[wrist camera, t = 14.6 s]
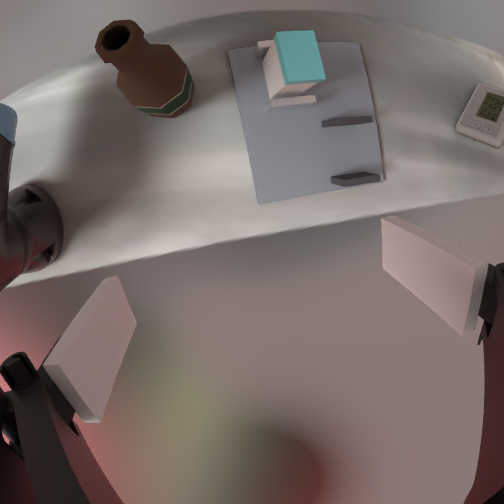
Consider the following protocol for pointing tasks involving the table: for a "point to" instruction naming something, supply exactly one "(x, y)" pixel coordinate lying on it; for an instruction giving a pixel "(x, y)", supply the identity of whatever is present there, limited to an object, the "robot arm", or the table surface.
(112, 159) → the table surface
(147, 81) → the beer bottle
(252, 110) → the panel
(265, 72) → the white and teal box
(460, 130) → the digital clock
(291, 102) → the port
